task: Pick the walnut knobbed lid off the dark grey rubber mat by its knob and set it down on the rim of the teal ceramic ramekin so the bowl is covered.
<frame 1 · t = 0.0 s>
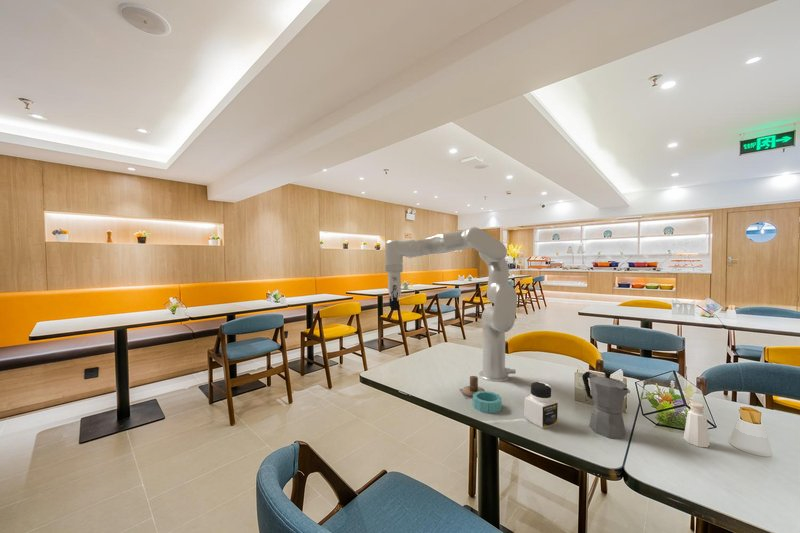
hand: (393, 308, 132), 31 cm above the table, fingers open, 9 cm apart
mat: (473, 394, 118), on the table
lid: (473, 393, 118), point 1 cm above the table, touching mat
salt shaker: (696, 443, 87), on the table
medicine bottle: (540, 421, 98), on the table
coffeepot: (603, 429, 94), on the table
bowl: (486, 408, 107), on the table
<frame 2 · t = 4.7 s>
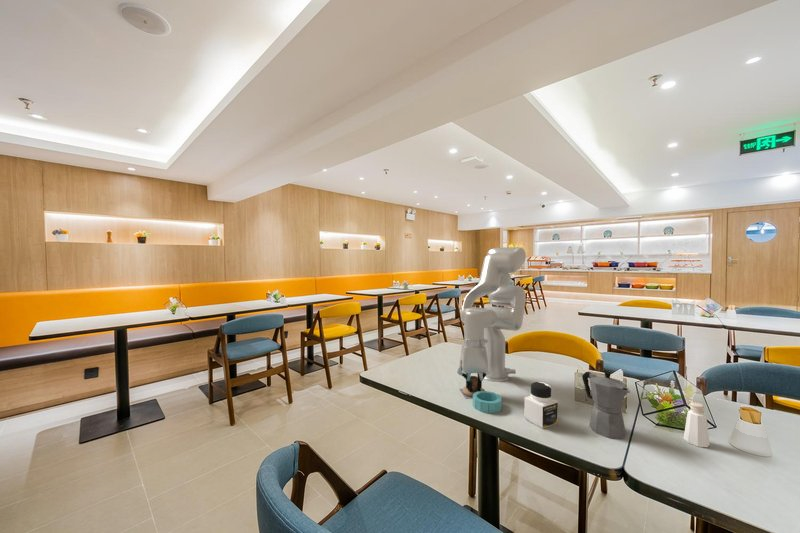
hand: (473, 389, 118), 2 cm above the table, fingers closed on lid, 3 cm apart
lid: (473, 393, 118), point 1 cm above the table, touching gripper, mat
everything else where it was.
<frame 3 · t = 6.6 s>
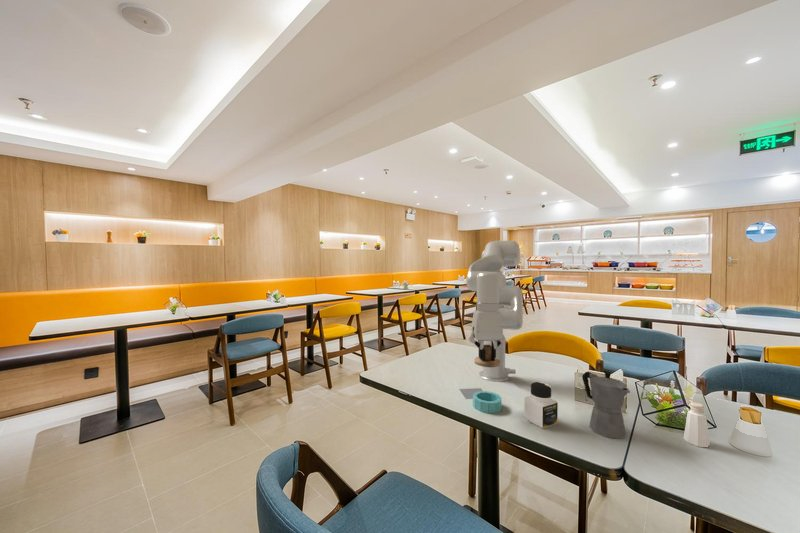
hand: (487, 359, 107), 17 cm above the table, fingers closed on lid, 3 cm apart
lid: (487, 363, 107), point 16 cm above the table, touching gripper
everything else where it was.
when the fingers open (7 cm above the table, at t = 9.0 s): lid drops 1 cm, resting on bowl.
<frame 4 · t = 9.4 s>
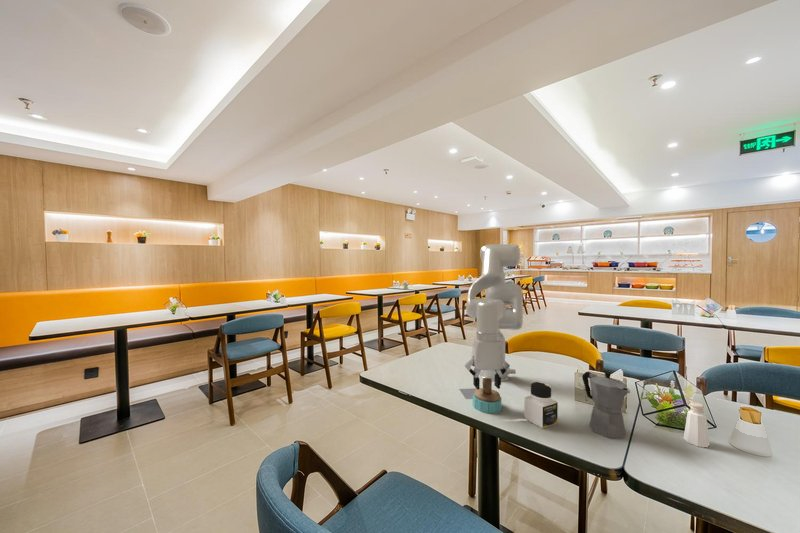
hand: (487, 387, 107), 7 cm above the table, fingers open, 6 cm apart
lid: (487, 396, 107), point 4 cm above the table, touching bowl
everything else where it was.
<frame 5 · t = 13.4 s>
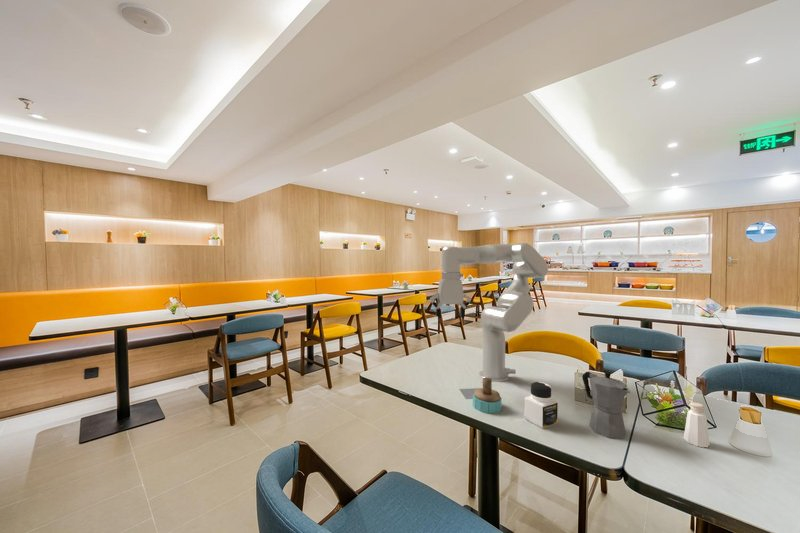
hand: (450, 317, 126), 28 cm above the table, fingers open, 9 cm apart
nothing on the table moved.
at the end: lid 0.0 cm off-centre on the bowl, point 4.0 cm above the bowl's base; lid tilted 0°; the gripper is holding nothing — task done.
